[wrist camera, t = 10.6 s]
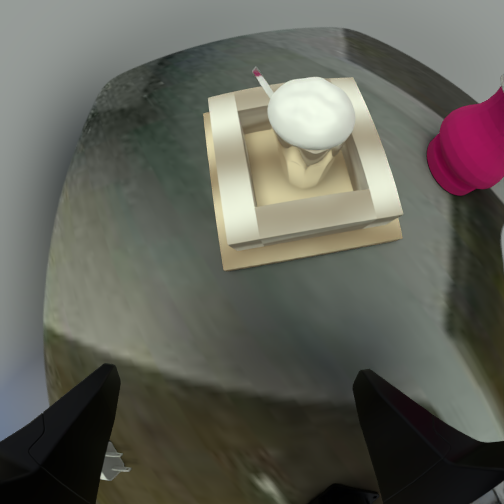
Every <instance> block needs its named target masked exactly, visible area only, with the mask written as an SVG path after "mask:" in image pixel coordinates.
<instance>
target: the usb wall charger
mask: <svg viewBox="0 0 504 504" xmlns="http://www.w3.org/2000/svg"><path fill="white" fill-rule="evenodd" d="M122 455H123V453H117V451H116V450H115V448H114V446H113V444H112V443H111V442H109V443H108V447H107V451H106V455H105V459H104V464H103V468H102V473H101V478H100V479H103V480H109V481H111V480H113V479H114V478H115V477H116V476H117V475H118V474H119V473H120V472H121V471H128V472H129V471H130V470H131V469H132V468H129V467H124V463H123V461H122V460H121V458H120V457H121V456H122ZM127 469H129V470H127Z"/></svg>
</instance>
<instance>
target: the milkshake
mask: <svg viewBox="0 0 504 504" xmlns="http://www.w3.org/2000/svg"><path fill="white" fill-rule="evenodd" d="M252 73H253V75H254V76H255V77H256V79H257V80H258V82H259V83H260V85H261V86H262V88H263V89H264V91H265V92H266V94H267V95H268V97H269V98H270V101H269V104H268V118H269V121H270V124H271V127H272V131H273V134H274V137H275V140H276V144H277V148H278V152H279V157H280V161H281V165H282V170H283V173H284V175H285V176H286V178H287V180H288V181H289V183H290V184H292V185H294V186H296V187H298V188H300V189H307V188H313V187H316V186H317V185H318V184H319V183H320V182H321V181H322V180H323V179H324V177H325V176H326V174H327V172H328V170H329V169H330V167H331V165H332V163H333V162H334V160H335V158H336V156H337V155H338V153H339V151H340V150H341V148H342V147H343V145H344V144H345V142H346V141H347V139H348V137H349V136H350V134H351V133H352V131H353V128H354V125H355V111H354V108H353V105H352V103H351V100H350V99H349V97H348V96H347V94H346V93H345V92H344V91H343V90H342V89H340V88H339V87H337V86H336V85H334V84H332V83H330V82H328V81H327V80H325V79H323V78H320V77H310V78H304V79H295V80H291V81H288V82H286V83H285V84H283V85H282V86H280V87H279V88H278V89H277V90H276V91H275V92H273V91H272V89H271V87H270V86H269V84H268V83H267V81H266V80H265V78H264V77H263V75H262V74H261V72H260V71H259V69H258V68H257V67H255V68H254V69H253V71H252Z"/></svg>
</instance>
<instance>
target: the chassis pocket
mask: <svg viewBox="0 0 504 504" xmlns="http://www.w3.org/2000/svg"><path fill="white" fill-rule="evenodd" d="M325 80H327V81H328V82H330V83H332V84H334V85H336V86H337V87H339V88H340V89H342V90H343V91H344V92H345V93H346V94H347V96H348V97H349V99H350V100H351V103H352V105H353V108H354V111H355V125H354V128H353V131H352V133H351V134H350V136H349V137H348V139H347V141H346V142H345V144H344V145H343V147H342V148H341V150H340V151H339V153H338V155H337V156H336V158H335V160H334V162H333V163H332V165H331V167H330V169H329V170H328V172H327V174H326V176H325V177H324V179H323V180H322V181H321V182H320V183H319V184H318V185H317V186H316V187H313V188H307V189H300V188H298V187H296V186H294V185H292V184H290V183H289V181H288V180H287V178H286V176H285V175H284V173H283V170H282V165H281V161H280V157H279V152H278V148H277V144H276V140H275V137H274V134H273V131H272V127H271V124H270V121H269V118H268V104H269V101H270V98H269V97H268V95H267V94H266V92H265V91H264V89H263V88H262V86H261V87H256V88H250V89H245V90H240V91H235V92H231V93H226V94H222V95H218V96H214V97H210V98H208V102H209V110H210V112H208V113H204V114H203V115H204V125H205V134H206V143H207V152H208V160H209V168H210V176H211V184H212V192H213V200H214V207H215V215H216V222H217V229H218V236H219V243H220V250H221V256H222V263H223V269H224V271H233V270H238V269H244V268H250V267H256V266H262V265H268V264H273V263H279V262H285V261H290V260H296V259H302V258H307V257H313V256H318V255H324V254H329V253H335V252H340V251H345V250H351V249H356V248H361V247H367V246H372V245H377V244H382V243H388V242H393V241H397V240H399V239H402V233H401V228H400V224H399V220H398V217H400V216H402V215H403V211H402V207H401V203H400V200H399V196H398V192H397V189H396V185H395V182H394V179H393V176H392V172H391V169H390V166H389V163H388V160H387V157H386V154H385V152H384V149H383V146H382V143H381V141H380V138H379V135H378V133H377V130H376V128H375V125H374V123H373V120H372V118H371V115H370V113H369V111H368V108H367V106H366V104H365V102H364V99H363V97H362V95H361V93H360V91H359V89H358V87H357V85H356V82H355V80H354V78H330V79H325ZM283 84H285V83H281V84H274V85H269V86H270V87H271V89H272V91H273V92H275V91H276V90H277V89H278V88H279V87H280V86H282V85H283Z"/></svg>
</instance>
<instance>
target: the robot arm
mask: <svg viewBox="0 0 504 504" xmlns="http://www.w3.org/2000/svg"><path fill="white" fill-rule="evenodd" d="M120 385H121V381H120V377H119V374H118V371H117V368H116V366H115V365H114V364H109V363H104V364H103V365H101V366H100V367H99V368H98V369H96V370H95V371H94V372H93V373H91V374H90V375H89V376H88V377H86V378H85V379H84V380H83V381H81V382H80V383H79V384H78V385H76V386H75V387H74V388H73V389H71V390H70V391H69V392H68V393H66V394H65V395H64V396H63V397H61V398H60V399H59V400H58V401H56V402H55V403H54V404H53V405H52V406H50V407H49V408H48V409H47V410H45V411H44V412H43V413H41V414H40V415H39V416H38V417H37V418H35V419H34V420H33V421H31V422H30V423H29V424H27V425H26V426H25V427H23V428H21V429H20V430H18V431H17V432H15V433H14V434H12V435H10V436H9V437H7V438H6V439H4V440H2V441H1V442H0V504H96V498H97V493H98V487H99V482H100V478H101V473H102V468H103V464H104V459H105V455H106V451H107V447H108V443H109V439H110V435H111V432H112V428H113V424H114V420H115V415H116V409H117V402H118V396H119V391H120ZM353 393H354V398H355V402H356V407H357V412H358V417H359V421H360V425H361V428H362V431H363V434H364V438H365V441H366V444H367V447H368V451H369V454H370V457H371V461H372V464H373V467H374V471H375V474H376V478H377V481H378V485H379V489H380V492H381V496H382V500H383V504H504V441H500V442H489V443H486V442H480V441H477V440H475V439H473V438H471V437H469V436H467V435H465V434H464V433H462V432H460V431H458V430H456V429H455V428H453V427H451V426H449V425H448V424H446V423H445V422H443V421H442V420H440V419H439V418H437V417H436V416H434V415H432V414H431V413H430V412H429V411H427V410H426V409H424V408H423V407H422V406H420V405H419V404H417V403H416V402H415V401H413V400H412V399H410V398H409V397H408V396H406V395H405V394H403V393H402V392H401V391H399V390H398V389H397V388H395V387H394V386H392V385H391V384H390V383H388V382H387V381H386V380H384V379H383V378H382V377H380V376H379V375H377V374H376V373H375V372H373V371H372V370H370V369H365V370H360V371H359V373H358V375H357V377H356V379H355V381H354V383H353ZM334 488H335V489H334ZM378 497H379V494H378V493H377V492H371V491H366V490H361V489H356V488H351V487H347V486H343V485H338V484H334V485H331V486H330V487H329V488H328V489H327V490H326V491H325V492H324V493H323V494H322V495H320V496H319V497H318V498H317V499H315V500H314V501H313V502H312V503H311V504H372V503H373V502H374V501H375V500H376V499H377V498H378Z"/></svg>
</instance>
